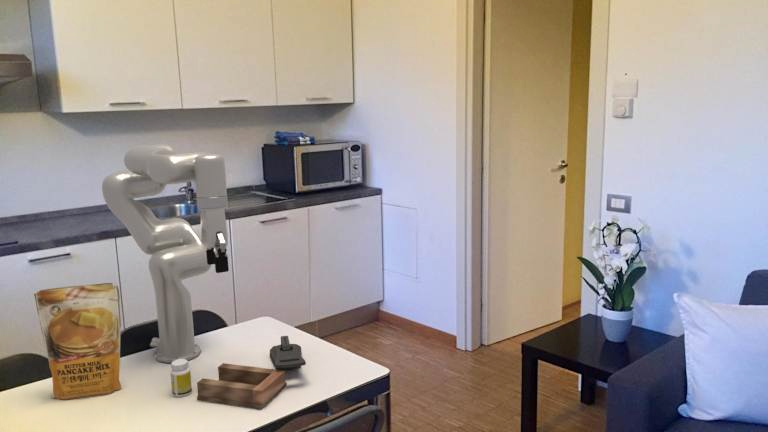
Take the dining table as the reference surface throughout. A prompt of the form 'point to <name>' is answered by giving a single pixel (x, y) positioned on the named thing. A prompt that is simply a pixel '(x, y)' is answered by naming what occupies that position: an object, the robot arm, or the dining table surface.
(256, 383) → the open u-shaped wooden frame
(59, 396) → the pancake mix bag
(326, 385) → the dining table surface
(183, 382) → the supplement bottle
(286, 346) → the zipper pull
